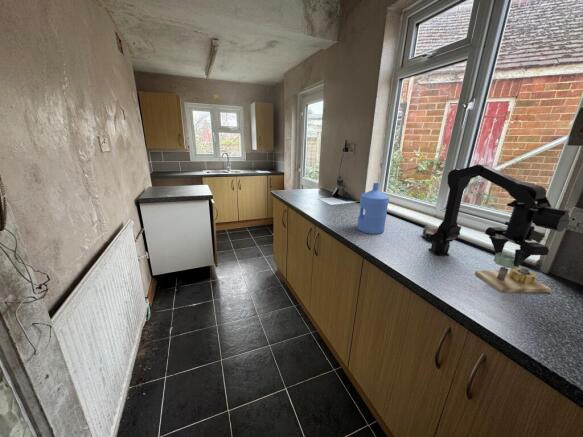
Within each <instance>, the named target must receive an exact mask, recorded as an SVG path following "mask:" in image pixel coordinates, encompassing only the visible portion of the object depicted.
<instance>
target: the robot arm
mask: <svg viewBox="0 0 583 437" xmlns="http://www.w3.org/2000/svg"><path fill="white" fill-rule="evenodd" d="M477 177H481V178H482V179H484V180H486V181H488V182H490V183H493V185H496V186H498V187H499V188H501V189H503V190H505V191H506V192H507V193H508V195H509V196H510V197H512V199H514V200H513V201H511V202H509V203H507V204H506V206H507V207H511V208H513V209H512V212H511V215H510V216H509V217H510V218H509V220H508V221H505V223H504V225H505V226H506V229H505V228H503V227H499V226H496V227H493V226H491V227H488V228H486V229H485V233H484V234H485V235H487V236H488V238H489V239H490V241H491V243H492V246H493V251H494V253H495V254H496V253H498V252H502V253H503V251H504V248H505V245H506V244H507V243H508V242H512V243H514V244H516V245H518V246H519V248H516V249H515V251H514V256H515V258H514V266H515V267H518V266H519V265H520V266H521V265H522V264H523V263H524V261H526V259H528V258H529V257H531V256H548V254H549V251H550V249H549V247H548V246H546V245H544V244H543V243H542V244H541V242H542V240H543V239H544V238H545V236H546V235H545V234H543V233H540V232H538V231H536V230H535V226H536V227H539V228H544V229H547V230H550V231H555V232H559V233H561V232H563V231H564V230H565V229H566V228H567V227H568V225H569V223H570V215H569V213H570V210H569V209H563V208H561V209H560V208H556V207H552V204H551V203H550V201H549V199H548V197H547V189H546V188H545V187H544V186H542V185H539V184H535V183H531V182H527V181H523V180H518V179H517V178H514V177H512V176H510V175H509V174H508V175H507V174H505V173H504V172H501V171H499V170H497V169H496V168H493V167H491V166H489V164H486V163H480V164H475V165H472V166H469V167H463V168H459V169H458V168H455V169H451V170H450V171H449V172H448V174H447V181H446V183H447V185H448V188H449V192H448V196H447V197H448V198H447V203H446V206H445V212H444V217H443V220H442V222H441V223H440V224H439V226H438V227H437V229H438V230H437V232H436V233H434V234H432V235H430V239H431V240H432V241H433V242H431V246H430V248H428V251H430V252H432V254H434V255H436V256H450V253H449V250H450V247H451V246H450V243H452V242H453V241H454V240H456V239H457V238H458V236H460V235H461V229H462V226H460V225H458V223H457V220H458V217H459V212H460V208H461V202H462V199H463V194H464V192H465V191H464V190H465V189H466V188H467V187H468V185H469V184H470V182H471V180H472V179H474V178H477ZM532 224H534V225H535V226H534V225H532ZM532 241H534V242H532ZM520 266H519V267H520Z"/></svg>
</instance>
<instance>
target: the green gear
mask: <svg viewBox="0 0 583 437" xmlns="http://www.w3.org/2000/svg"><path fill="white" fill-rule="evenodd" d="M514 258H515V254H514V255H513V254H511V253H508V252H506V253H505V252H503V251H502V252H498V253H495V254H494V258H493V262H494V264H496V265H497V266H501V267H504V268H507V269H511V268H512V269H516V268H520V266H521V264H520V265H519V266H518V267H515V266H514Z"/></svg>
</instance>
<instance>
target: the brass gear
mask: <svg viewBox="0 0 583 437" xmlns="http://www.w3.org/2000/svg"><path fill="white" fill-rule="evenodd" d="M520 269H521V267H519V268H516V269H512V268H510V270H509V271H510V274H509V277H510V278H513V279H514V280H515V281H517V282H521V283H524V284H534V283H535V281H537V278H538V275H537V274H536V273H534V272H532V271H531V270H529V272H528V274H527V275H526V274H522V273H520Z"/></svg>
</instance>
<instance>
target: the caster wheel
mask: <svg viewBox="0 0 583 437" xmlns="http://www.w3.org/2000/svg"><path fill="white" fill-rule="evenodd" d="M437 230H438V227H437V226H436V227H435V226H432V225H429V224H428V223H425V225H424V228H423V229H422V234H421V238H423V237H424V238H426V240H427V241H429V242H431V243H432V242H433V241H432V240H431V239H430V235H432V234H434V233H436V232H437Z"/></svg>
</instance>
